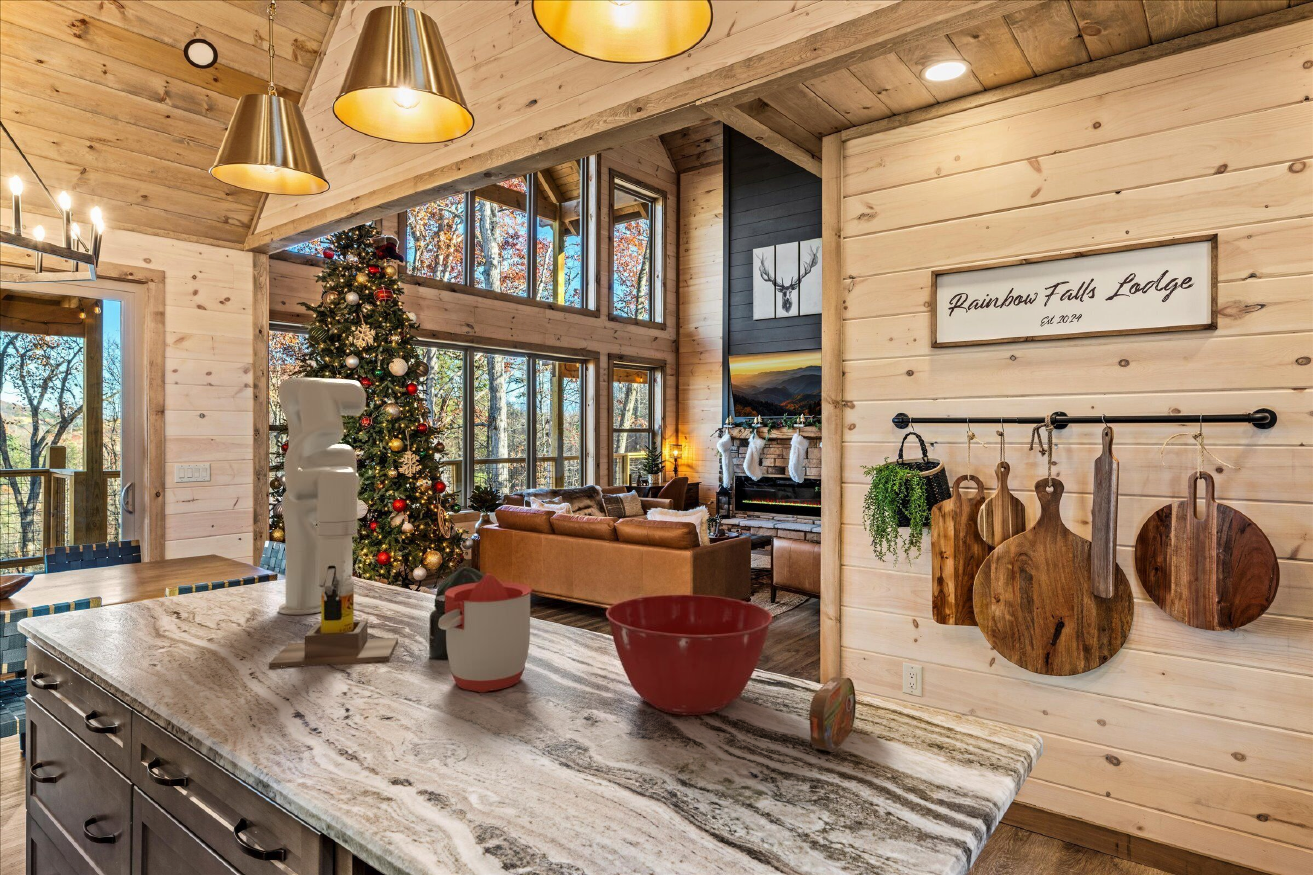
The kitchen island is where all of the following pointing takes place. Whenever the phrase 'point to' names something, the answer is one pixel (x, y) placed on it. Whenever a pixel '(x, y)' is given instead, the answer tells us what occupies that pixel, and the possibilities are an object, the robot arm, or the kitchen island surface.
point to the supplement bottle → (437, 631)
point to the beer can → (347, 609)
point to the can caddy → (336, 648)
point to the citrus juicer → (487, 633)
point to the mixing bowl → (688, 649)
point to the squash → (460, 579)
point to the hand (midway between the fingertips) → (337, 614)
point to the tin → (832, 713)
